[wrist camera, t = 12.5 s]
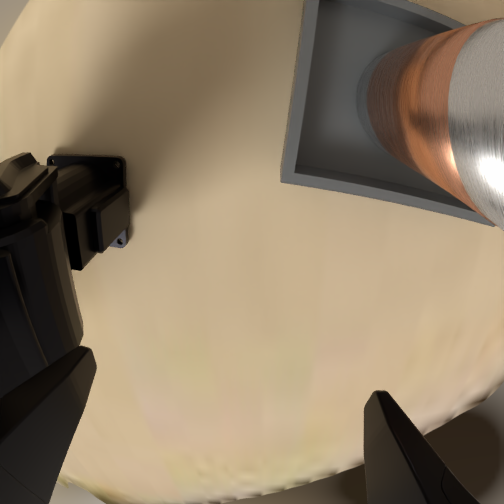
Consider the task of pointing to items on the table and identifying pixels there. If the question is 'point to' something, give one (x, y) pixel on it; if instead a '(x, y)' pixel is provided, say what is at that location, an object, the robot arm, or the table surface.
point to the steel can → (444, 111)
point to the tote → (344, 103)
